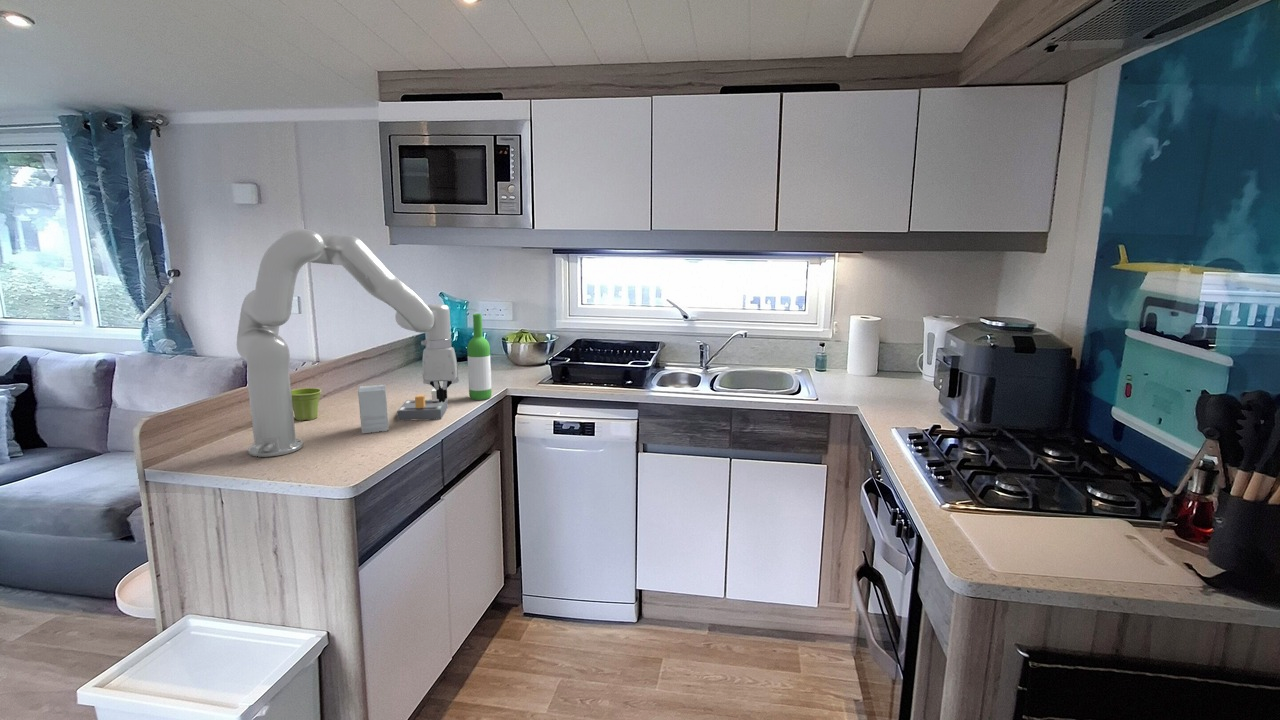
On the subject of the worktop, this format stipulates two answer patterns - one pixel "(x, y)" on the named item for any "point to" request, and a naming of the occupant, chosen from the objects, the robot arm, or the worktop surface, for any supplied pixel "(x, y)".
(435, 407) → the slider switch panel
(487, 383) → the wine bottle
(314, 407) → the plant pot
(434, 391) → the white slider switch
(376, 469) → the worktop surface
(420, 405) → the block
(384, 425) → the supplement box
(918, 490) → the worktop surface
